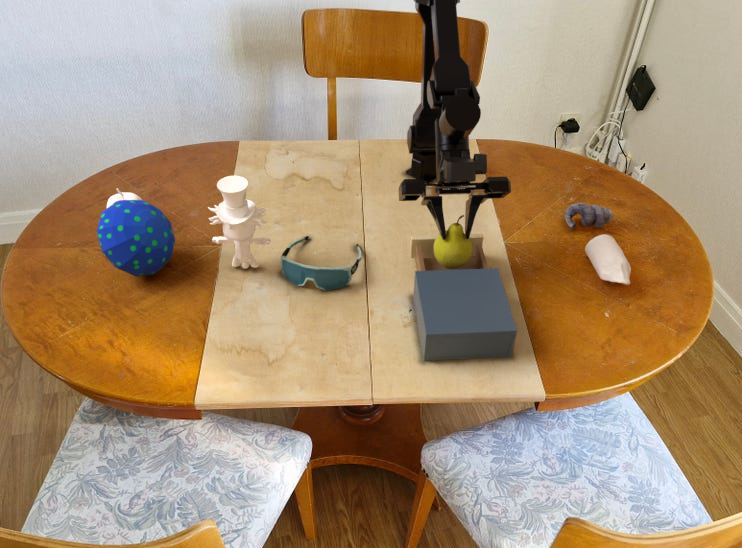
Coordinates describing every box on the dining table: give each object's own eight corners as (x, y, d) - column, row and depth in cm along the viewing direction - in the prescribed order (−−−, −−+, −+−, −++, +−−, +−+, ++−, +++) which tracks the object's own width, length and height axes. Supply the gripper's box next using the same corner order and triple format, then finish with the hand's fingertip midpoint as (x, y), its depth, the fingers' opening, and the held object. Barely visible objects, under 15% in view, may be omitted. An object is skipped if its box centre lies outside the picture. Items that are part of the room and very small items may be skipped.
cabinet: (413, 297, 124) (415, 270, 119) (493, 294, 125) (498, 267, 120) (423, 360, 113) (426, 334, 109) (511, 356, 114) (517, 330, 110)
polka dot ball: (98, 198, 129) (139, 171, 119) (158, 246, 137) (202, 224, 127) (60, 254, 122) (102, 231, 112) (127, 301, 130) (170, 284, 120)
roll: (603, 299, 124) (611, 275, 120) (581, 258, 132) (588, 234, 128) (635, 297, 125) (644, 273, 121) (611, 255, 133) (619, 232, 129)
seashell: (561, 232, 140) (608, 231, 141) (571, 224, 135) (620, 224, 136) (559, 206, 140) (607, 206, 141) (569, 198, 135) (618, 197, 136)
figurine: (213, 280, 125) (196, 196, 112) (221, 254, 131) (205, 170, 118) (271, 282, 125) (260, 198, 112) (276, 256, 131) (267, 172, 118)
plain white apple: (125, 210, 139) (114, 176, 134) (155, 218, 138) (146, 183, 132) (104, 230, 135) (93, 195, 129) (136, 238, 133) (125, 203, 128)
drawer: (409, 250, 131) (410, 231, 128) (478, 247, 132) (481, 229, 129) (418, 305, 121) (420, 287, 118) (494, 303, 122) (497, 284, 119)
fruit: (427, 254, 127) (434, 199, 118) (462, 250, 128) (471, 195, 119) (437, 278, 122) (445, 223, 114) (474, 274, 124) (484, 219, 115)
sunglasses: (272, 284, 125) (271, 260, 122) (298, 244, 136) (297, 222, 133) (347, 297, 123) (348, 273, 120) (367, 256, 134) (368, 233, 131)
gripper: (403, 136, 110) (407, 234, 111) (518, 133, 111) (521, 231, 112) (396, 153, 121) (400, 243, 122) (501, 151, 122) (504, 239, 123)
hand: (455, 239), depth 119 cm, fingers closed on fruit, 4 cm apart
